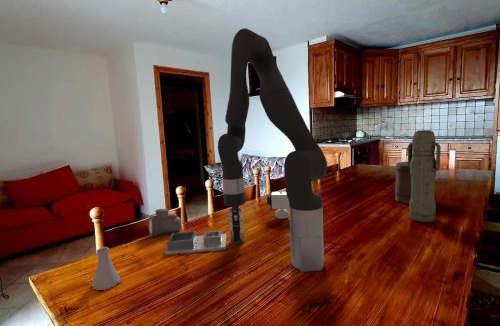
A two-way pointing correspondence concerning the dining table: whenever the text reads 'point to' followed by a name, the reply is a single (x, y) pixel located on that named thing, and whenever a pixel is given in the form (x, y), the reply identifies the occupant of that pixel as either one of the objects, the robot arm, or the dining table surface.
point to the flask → (105, 271)
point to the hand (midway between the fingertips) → (237, 237)
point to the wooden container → (403, 183)
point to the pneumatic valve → (279, 203)
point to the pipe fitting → (163, 222)
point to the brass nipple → (233, 233)
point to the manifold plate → (195, 242)
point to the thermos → (423, 175)
